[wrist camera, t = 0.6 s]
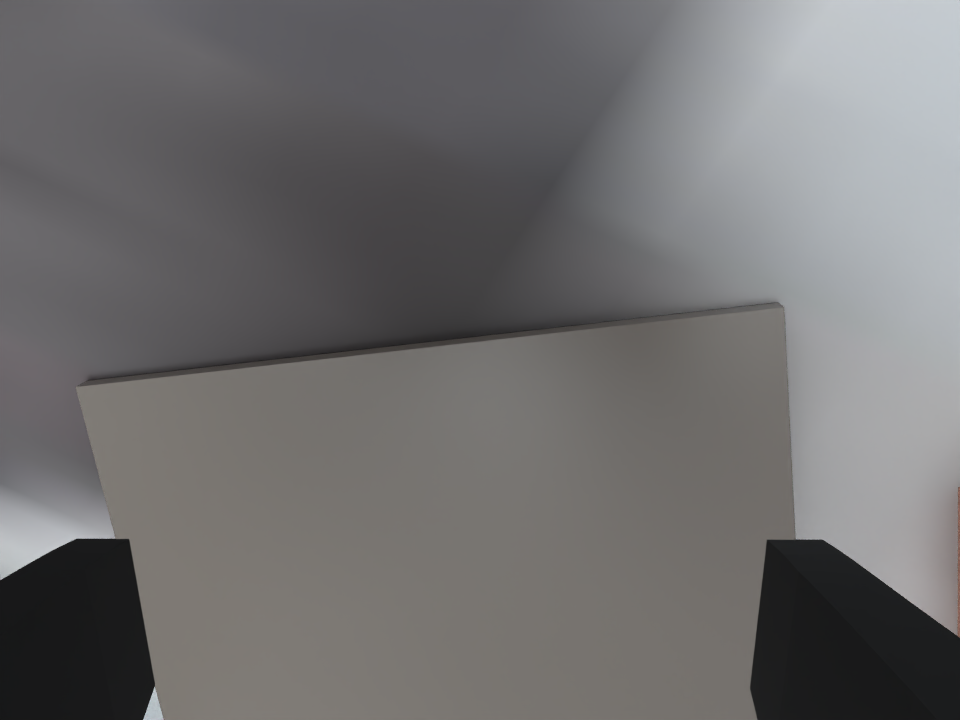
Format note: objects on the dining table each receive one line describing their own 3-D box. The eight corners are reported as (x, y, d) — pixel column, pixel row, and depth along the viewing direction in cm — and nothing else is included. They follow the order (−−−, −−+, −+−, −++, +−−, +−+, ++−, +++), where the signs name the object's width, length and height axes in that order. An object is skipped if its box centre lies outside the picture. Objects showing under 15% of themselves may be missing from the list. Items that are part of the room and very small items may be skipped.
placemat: (801, 767, 22) (807, 782, 22) (196, 800, 24) (189, 814, 23) (778, 302, 19) (784, 307, 19) (86, 381, 21) (75, 387, 20)
